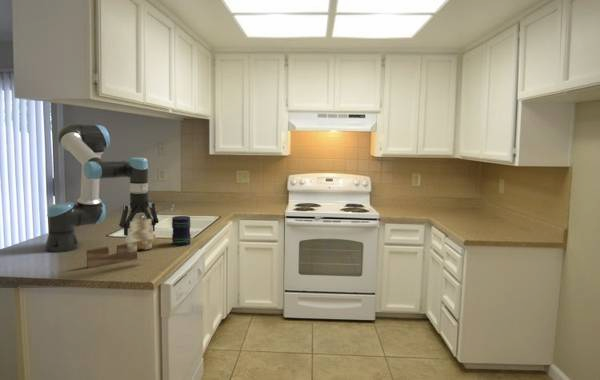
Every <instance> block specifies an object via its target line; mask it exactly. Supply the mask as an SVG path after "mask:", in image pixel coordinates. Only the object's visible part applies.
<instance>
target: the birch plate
mask: <svg viewBox="0 0 600 380" xmlns="http://www.w3.org/2000/svg"><path fill="white" fill-rule="evenodd" d="M128 228H130V243H127V242H126V243H127V249H128V251H129V252H134V251H137V252H138V250H137V241H142V244H143V249H144V250H151V249H152V248H153V247H152V220H151V219H148V218H147V217H146V218H145V217H143V218H136V219H134V218H133V219H132V221H130V225H129V227H128Z"/></svg>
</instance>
